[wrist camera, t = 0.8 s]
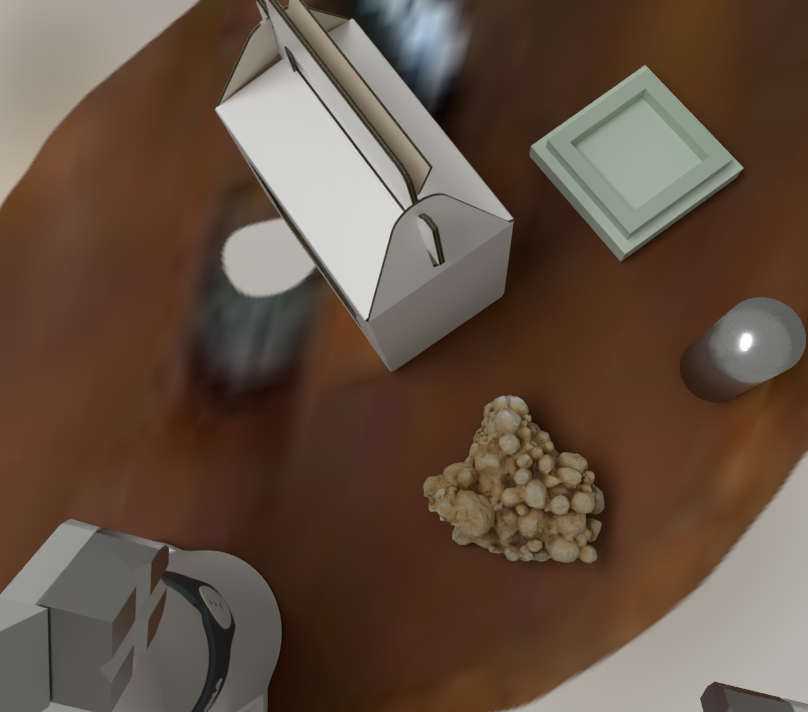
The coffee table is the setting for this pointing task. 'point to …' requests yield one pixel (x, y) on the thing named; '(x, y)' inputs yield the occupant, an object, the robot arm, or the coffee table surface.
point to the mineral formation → (519, 491)
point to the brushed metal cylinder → (743, 350)
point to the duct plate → (634, 162)
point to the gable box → (365, 179)
